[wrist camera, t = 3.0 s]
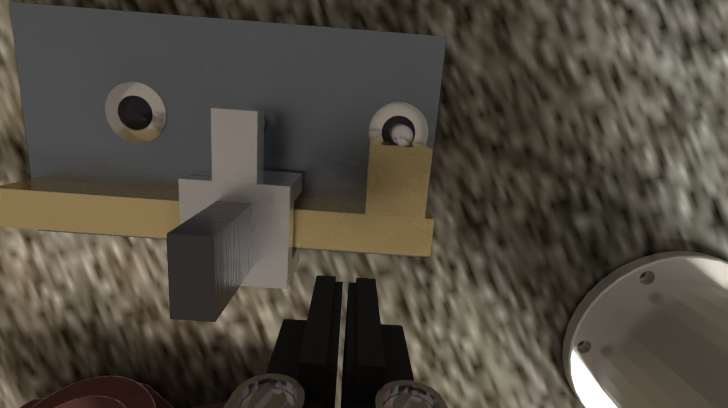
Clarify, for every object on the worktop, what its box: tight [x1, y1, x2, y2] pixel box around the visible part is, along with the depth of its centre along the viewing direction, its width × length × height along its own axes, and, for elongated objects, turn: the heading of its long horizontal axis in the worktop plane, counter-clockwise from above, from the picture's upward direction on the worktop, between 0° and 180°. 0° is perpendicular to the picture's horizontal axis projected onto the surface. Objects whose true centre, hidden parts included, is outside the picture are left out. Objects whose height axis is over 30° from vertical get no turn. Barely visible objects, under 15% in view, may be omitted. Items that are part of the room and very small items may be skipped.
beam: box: [0, 123, 435, 257], centre depth 21 cm, size 22×6×2 cm, turn 86°
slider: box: [167, 108, 302, 322], centre depth 18 cm, size 5×8×9 cm, turn 176°
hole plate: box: [10, 2, 446, 257], centre depth 22 cm, size 22×12×1 cm, turn 86°
